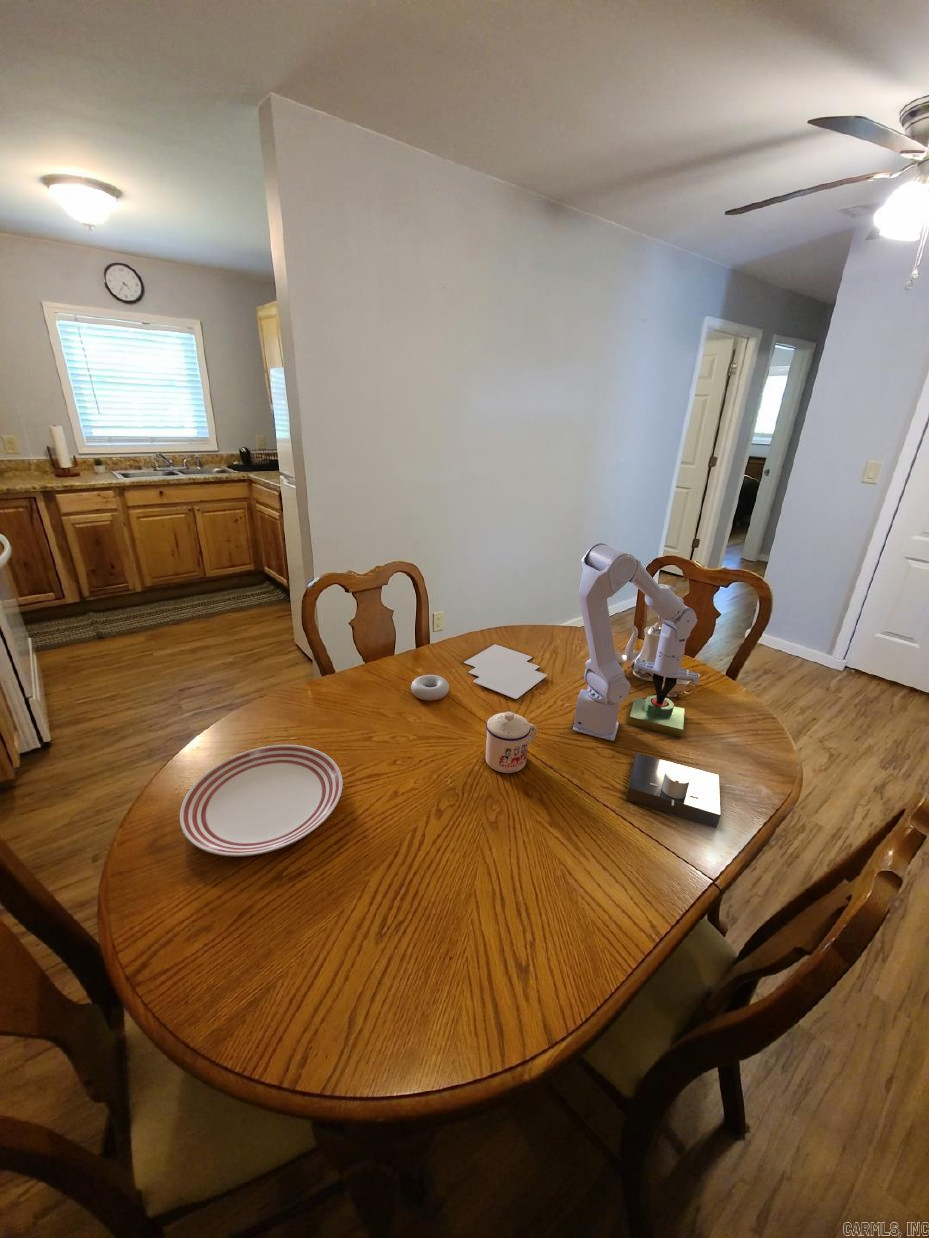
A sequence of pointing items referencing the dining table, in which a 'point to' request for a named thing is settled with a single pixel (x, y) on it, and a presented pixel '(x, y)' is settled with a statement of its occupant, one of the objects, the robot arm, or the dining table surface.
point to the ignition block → (657, 716)
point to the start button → (654, 701)
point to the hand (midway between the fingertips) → (659, 701)
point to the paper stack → (505, 671)
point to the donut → (430, 687)
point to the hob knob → (675, 783)
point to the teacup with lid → (508, 741)
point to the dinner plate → (261, 800)
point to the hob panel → (694, 806)
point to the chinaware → (648, 657)
